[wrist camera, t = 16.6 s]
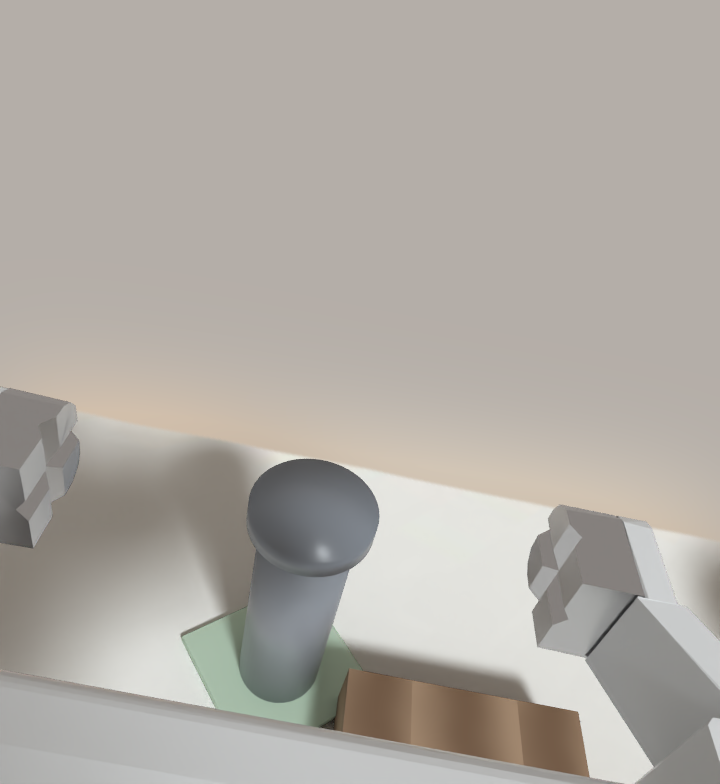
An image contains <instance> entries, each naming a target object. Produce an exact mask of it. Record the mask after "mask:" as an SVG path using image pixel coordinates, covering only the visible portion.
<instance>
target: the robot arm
mask: <svg viewBox="0 0 720 784" xmlns="http://www.w3.org/2000/svg"><path fill="white" fill-rule="evenodd" d="M76 422H77V414H76V407H75V405H74V404H72V403H70V402H67V401H62V400H58V399H54V398H50V397H45V396H41V395H36V394H33V393H28V392H24V391H20V390H15V389H11V388H9V389H8V388H4V387H0V543H4V544H10V545H16V546H22V547H28V548H34V546H35V545H36V543H37V541H38V540H39V538H40V536H41V535H42V533H43V531H44V530H45V528H46V526H47V525H48V523H49V521H50V520H51V518H52V516H53V514H52V506H51V502H53V501H55V500H57V499H58V498H60V497H62V496H64V495H65V494H66V492H67V491H68V489H69V487H70V485H71V484H72V482H73V479H74V476H75V473H76V470H77V467H78V464H79V455H80V445H79V440H78V439H77V437H76V436H75V435H74V434H73V433H72V432H71V430H72V428H73V427H74V425H75V424H76ZM548 522H549V528H550V530H548V531H546V532H544V533H542V534H540V535H538V536H537V538H536V540H535V542H534V544H533V546H532V547H531V551H530V555H529V559H528V570H527V576H528V585H529V589H530V590H531V591H532V593H533V594H534V595H535V597H536V598H537V599H538V600H539V601H538V603H537V604H536V606H535V608H534V609H533V611H532V614H533V621H534V628H535V635H536V642H537V647H540V648H544V649H549V650H553V651H558V652H562V653H567V654H571V655H576V656H580V657H584V658H586V660H585V661H586V662H587V664H588V665H589V667H590V668H591V670H592V672H593V673H594V675H595V676H596V678H597V679H598V681H599V682H600V684H601V686H602V687H603V689H604V690H605V692H606V693H607V695H608V696H609V698H610V699H611V701H612V703H613V704H614V706H615V707H616V709H617V710H618V712H619V713H620V715H621V717H622V718H623V720H624V721H625V723H626V724H627V726H628V727H629V729H630V730H631V732H632V734H633V735H634V737H635V738H636V740H637V741H638V743H639V744H640V746H641V748H642V749H643V751H644V752H645V754H646V755H647V757H648V758H649V760H650V762H651V763H652V765H653V766H654V767H653V768H652V769H651V770H650V771H649V772H648V773H646V774H645V775H644V776H643V777H642V778H640V779H639V780H638V781H637V782H636V783H635V784H720V641H719V640H718V639H717V638H716V637H715V635H714V634H713V633H712V632H711V631H710V630H709V629H708V628H707V627H706V626H705V625H704V624H703V623H702V622H701V621H700V620H699V619H698V618H697V617H696V616H695V615H694V614H693V612H692V611H691V610H690V609H689V608H688V607H686V606H682V605H678V602H677V600H676V597H675V594H674V591H673V588H672V585H671V582H670V579H669V577H668V574H667V571H666V568H665V565H664V562H663V559H662V556H661V554H660V551H659V548H658V545H657V542H656V539H655V536H654V533H653V531H652V528H651V526H650V525H649V524H648V523H647V522H645V521H640V520H635V519H630V518H625V517H619V516H613V515H609V514H604V513H599V512H594V511H589V510H584V509H579V508H574V507H569V506H564V505H559V506H557V507H556V508H555V509H554V510H553V511H552V513H551V515H550V516H549V518H548ZM0 784H623V783H617V782H612V781H606V780H601V779H595V778H590V777H584V776H579V775H573V774H568V773H563V772H557V771H552V770H546V769H541V768H535V767H530V766H524V765H519V764H513V763H508V762H503V761H497V760H492V759H486V758H481V757H475V756H470V755H465V754H459V753H454V752H448V751H443V750H437V749H432V748H427V747H421V746H416V745H410V744H405V743H399V742H394V741H388V740H383V739H378V738H372V737H367V736H361V735H356V734H350V733H345V732H340V731H334V730H329V729H323V728H318V727H312V726H307V725H301V724H296V723H290V722H285V721H280V720H274V719H269V718H263V717H258V716H252V715H247V714H241V713H236V712H230V711H225V710H219V709H214V708H208V707H203V706H197V705H192V704H186V703H181V702H175V701H170V700H164V699H159V698H154V697H148V696H143V695H137V694H132V693H126V692H121V691H115V690H110V689H105V688H99V687H94V686H88V685H83V684H77V683H72V682H66V681H61V680H55V679H50V678H45V677H39V676H34V675H28V674H23V673H17V672H12V671H6V670H1V669H0Z"/></svg>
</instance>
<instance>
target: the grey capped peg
mask: <svg viewBox="0 0 720 784" xmlns="http://www.w3.org/2000/svg"><path fill="white" fill-rule="evenodd" d="M378 524H379V508H378V504H377V501H376V499H375V496H374V495H373V493H372V491H371V490H370V488H369V487H368V486H367V484H366V483H365V482H364V481H363V480H362V479H361V478H359V477H358V476H357V475H356V474H354V473H353V472H351V471H350V470H348V469H346V468H344V467H342V466H340V465H337V464H334V463H331V462H328V461H323V460H317V459H296V460H291V461H287V462H283V463H281V464H278V465H276V466H274V467H272V468H270V469H269V470H267V471H266V472H265V473H263V474H262V475H261V476H260V477H259V478H258V480H257V481H256V482H255V484H254V486H253V488H252V490H251V493H250V496H249V503H248V511H247V530H248V534H249V536H250V539H251V541H252V543H253V545H254V546H255V548H256V554H255V561H254V567H253V574H252V581H251V587H250V594H249V601H248V607H247V614H246V620H245V627H244V634H243V640H242V647H241V654H240V661H239V669H240V674H241V678H242V680H243V682H244V684H245V685H246V687H247V688H248V689H249V690H250V691H251V692H252V693H253V694H254V695H255V696H257V697H258V698H260V699H262V700H265V701H268V702H273V703H286V702H290V701H293V700H296V699H298V698H300V697H301V696H303V695H304V694H305V693H306V692H307V691H308V690H309V689H310V688H311V687H312V685H313V684H314V682H315V680H316V677H317V674H318V671H319V667H320V664H321V661H322V658H323V654H324V651H325V648H326V644H327V641H328V638H329V635H330V631H331V628H332V625H333V622H334V618H335V615H336V612H337V608H338V605H339V602H340V599H341V595H342V592H343V589H344V586H345V582H346V579H347V576H348V572H349V569H351V568H353V567H354V566H356V565H357V564H358V563H359V562H360V561H361V560H362V559H363V558H364V557H365V556H366V555H367V553H368V552H369V550H370V548H371V546H372V543H373V540H374V537H375V534H376V531H377V527H378Z"/></svg>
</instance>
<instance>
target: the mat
mask: <svg viewBox="0 0 720 784" xmlns="http://www.w3.org/2000/svg"><path fill="white" fill-rule="evenodd" d="M247 607H248V606H247ZM247 607H245V608H242V609H240V610H238V611H236V612H234V613H232V614H230V615H227V616H225V617H223V618H221V619H219V620H217V621H214V622H212V623H210V624H208V625H206V626H204V627H201V628H199V629H197V630H195V631H193V632H191V633H188V634H186V635H184V636H182V641H183V643H184V645H185V647H186V649H187V651H188V653H189V656H190V658H191V660H192V662H193V664H194V666H195V668H196V670H197V672H198V674H199V676H200V678H201V680H202V682H203V684H204V686H205V688H206V690H207V692H208V694H209V696H210V698H211V700H212V702H213V704H214V706H215V708H216V709H219V710H225V711H230V712H236V713H241V714H247V715H252V716H258V717H263V718H269V719H274V720H280V721H285V722H290V723H296V724H301V725H307V726H312V727H318V728H320V727H321V726H323V725H325V724H326V723H328V722H329V721H331V720H333V719H334V718H335V716H336V710H337V701H338V696H339V693H340V691H341V688H342V685H343V683H344V680H345V678H346V675H347V673H348V670H349V668H350V669H356V670H361V671H363V670H362V669H361V667H360V666H359V664H358V663H357V661H356V660H355V658H354V657H353V655H352V654H351V652H350V651H349V649H348V648H347V646H346V645H345V643H344V642H343V640H342V639H341V637H340V635H339V634H338V632H337V631H336V629H335V628H334V626H333V625H332V628H331V631H330V635H329V638H328V641H327V644H326V648H325V651H324V654H323V658H322V661H321V664H320V667H319V671H318V674H317V677H316V680H315V682H314V684H313V685H312V687H311V688H310V689H309V690H308V691H307V692H306V693H305V694H304V695H303V696H301V697H300V698H298V699H296V700H293V701H290V702H286V703H273V702H268V701H265V700H262V699H260V698H258V697H257V696H255V695H254V694H253V693H252V692H251V691H250V690H249V689H248V688H247V687H246V685H245V684H244V682H243V680H242V678H241V674H240V669H239V661H240V654H241V647H242V640H243V634H244V627H245V620H246V614H247Z"/></svg>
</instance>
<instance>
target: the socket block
mask: <svg viewBox="0 0 720 784" xmlns="http://www.w3.org/2000/svg"><path fill="white" fill-rule="evenodd" d="M333 730H334V731H340V732H345V733H350V734H356V735H361V736H367V737H372V738H378V739H383V740H388V741H394V742H399V743H405V744H410V745H416V746H421V747H427V748H432V749H437V750H443V751H448V752H454V753H459V754H465V755H470V756H475V757H481V758H486V759H492V760H497V761H503V762H508V763H513V764H519V765H524V766H530V767H535V768H541V769H546V770H552V771H557V772H563V773H568V774H573V775H579V776H584V777H589V771H588V766H587V760H586V754H585V748H584V743H583V737H582V731H581V726H580V720H579V714H578V712H576V711H571V710H566V709H560V708H555V707H550V706H545V705H539V704H534V703H529V702H524V701H518V700H513V699H508V698H503V697H497V696H492V695H487V694H482V693H476V692H471V691H466V690H461V689H455V688H450V687H445V686H440V685H434V684H429V683H424V682H419V681H413V680H408V679H403V678H398V677H392V676H387V675H382V674H377V673H371V672H366V671H361V670H356V669H350V668H349V670H348V673H347V675H346V678H345V680H344V683H343V685H342V688H341V691H340V693H339V696H338V701H337V710H336V716H335V720H334V729H333Z"/></svg>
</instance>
